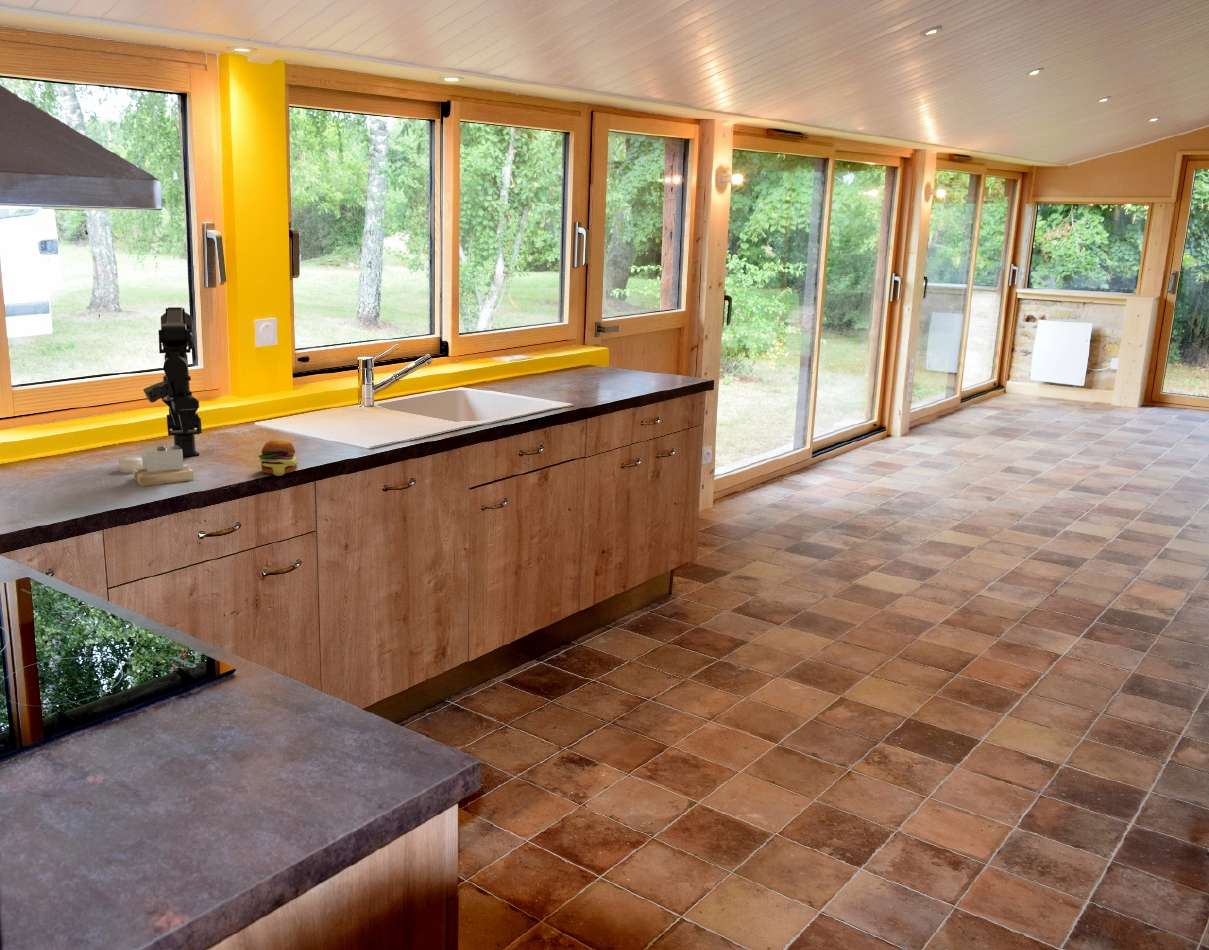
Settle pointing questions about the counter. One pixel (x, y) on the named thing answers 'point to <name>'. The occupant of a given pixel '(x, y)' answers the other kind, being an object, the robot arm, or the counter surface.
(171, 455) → the block
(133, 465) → the cream rounded block
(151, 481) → the stand
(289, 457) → the cheeseburger
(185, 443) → the robot arm
